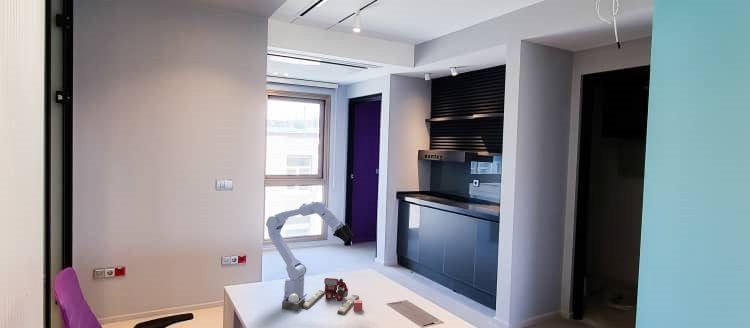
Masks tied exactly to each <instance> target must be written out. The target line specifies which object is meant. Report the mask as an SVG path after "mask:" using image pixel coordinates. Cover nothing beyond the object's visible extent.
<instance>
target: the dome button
mask: <svg viewBox="0 0 750 328" xmlns="http://www.w3.org/2000/svg"><path fill="white" fill-rule="evenodd" d="M287 298H288V297H287ZM298 301H299V298H298V295H297V294H295V293H293V294H291V295H290V296H289V298H288V302H294V303H297V302H298Z"/></svg>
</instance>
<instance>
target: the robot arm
mask: <svg viewBox="0 0 750 328" xmlns="http://www.w3.org/2000/svg"><path fill="white" fill-rule="evenodd" d="M315 214H317V215H318V216H319V217H320V218H321V219H322V220H323V221H324V222H325V223H326V224H327V225H328V226H329V228H330V231H331V232H332V233H333V234H332V236H333V237H336V238H338V239H340V240H342V241H343V242H345V243H347V242H348V241H349V240H352V239H353V238H354V236H355V235H354V234H353V233H352V231H351V229H350V226H349V224H348V223H345V221H344V220H340V219H339V218H338V216H336V215H335V214H334V213H333V212H332V210H330V209H329V208H328V207H327V204H326V201H323V200H318V201H311V202H309V203H304V202H303V203H302V204H301V205H300V206H299V208H294V209H289V210H285V211H281V212H279V213H277V214H274V215H271V216H269V217H268V218H266V219H267V220H266V223H265V226H266V228H267V231H268V232H267V234H268V237H269V239H270V240H271V242H272V244H273V245H274V246H275V248H276V250H277V251H278V253H279V255H280V256H281V258H282V259H283V261H284V263H285V265H286V268H285V270H286V272H287V276H288V277H287V278H286V279H285V281H284V288H283V289H284V290H283V291H284V294H283V297H284V298H288V297H289V296H290V295H291V294H293V293H295V294H297V295H298V297H301V298H305V296H306V295H307V294H308V293H306V292H304V291H305V275H306V273H307V267H306V266H305V264H304V263H302V262H301V261H300V260H299V259H297V258H296V257H295V255H294V254H293V252H292V251H291V249H290V247H289V245H288V244H287V242H286V241H285V239H284V237H283V236H282V235H281V232H282V229H283V228H284V226H285V224H286V222H287V221H288V219H289V218H292V217H295V216H302V217H307V216H310V215H315Z"/></svg>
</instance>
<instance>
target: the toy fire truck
mask: <svg viewBox="0 0 750 328" xmlns="http://www.w3.org/2000/svg"><path fill="white" fill-rule="evenodd" d="M343 279H344V278H340V279H338V278H333V277H325V278H324V281H323V283H324V291H325V294H324V296H325V299H326V301H332V300H333V299H334V298H335V300H336V301H337V302H341V301H343V300H344V298H347V297H348V295H349V289H348V286H347V283H346V282H345V281H344V280H343Z"/></svg>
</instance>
